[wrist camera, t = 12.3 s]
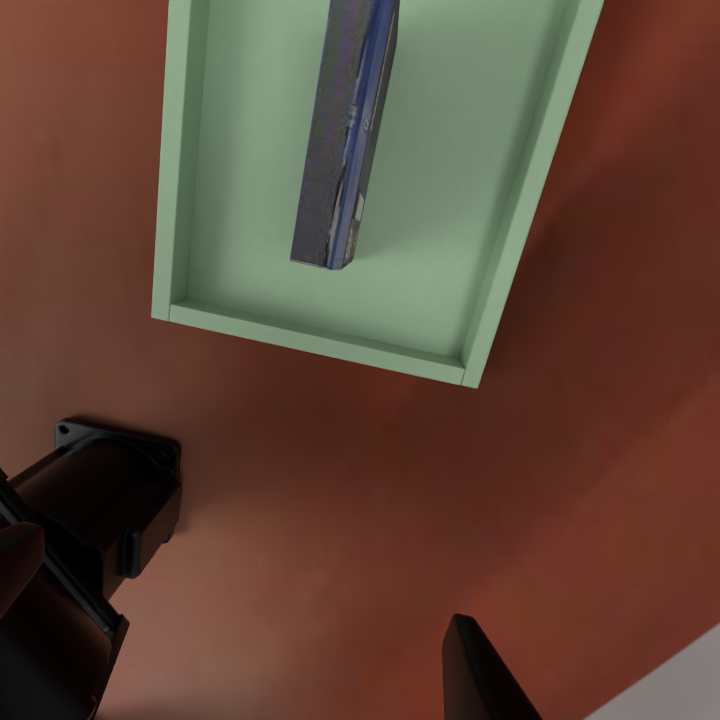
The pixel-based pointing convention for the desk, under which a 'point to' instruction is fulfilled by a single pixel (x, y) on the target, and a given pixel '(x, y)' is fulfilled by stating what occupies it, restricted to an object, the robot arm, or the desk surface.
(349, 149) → the mini dv tape
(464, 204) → the tray
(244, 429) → the desk surface
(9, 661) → the robot arm
